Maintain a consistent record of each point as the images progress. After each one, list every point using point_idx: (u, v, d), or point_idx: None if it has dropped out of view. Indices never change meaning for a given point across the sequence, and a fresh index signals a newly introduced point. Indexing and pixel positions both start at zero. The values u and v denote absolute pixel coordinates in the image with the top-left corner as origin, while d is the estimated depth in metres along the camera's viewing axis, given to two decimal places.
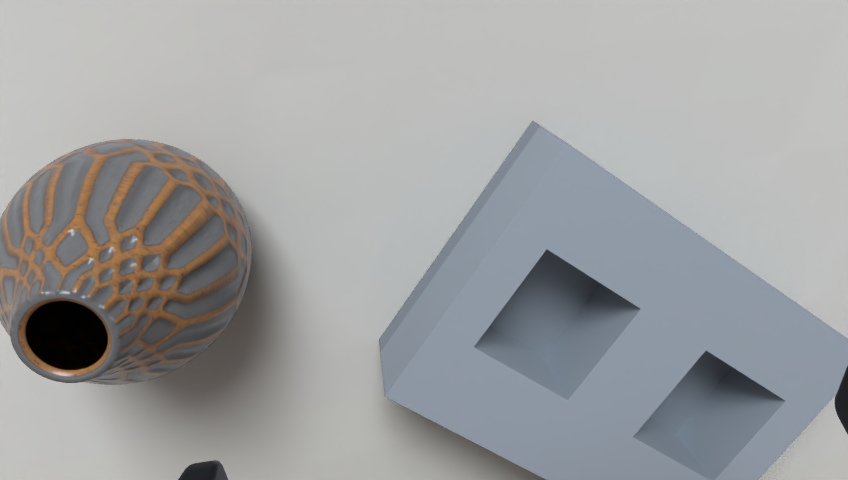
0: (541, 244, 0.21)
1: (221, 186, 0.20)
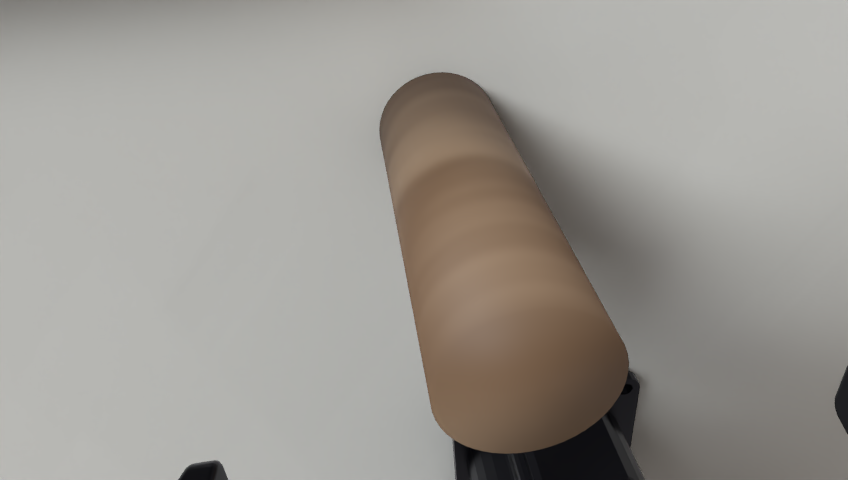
0: None
1: None
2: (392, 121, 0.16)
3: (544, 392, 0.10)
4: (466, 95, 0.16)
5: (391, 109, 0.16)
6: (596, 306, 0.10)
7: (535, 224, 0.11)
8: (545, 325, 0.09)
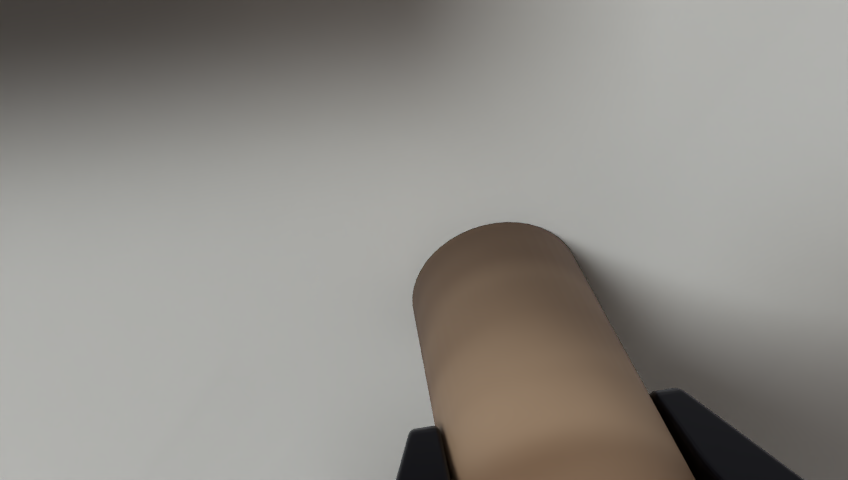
0: None
1: None
2: (435, 305, 0.11)
3: None
4: (550, 274, 0.10)
5: (432, 281, 0.11)
6: None
7: None
8: None
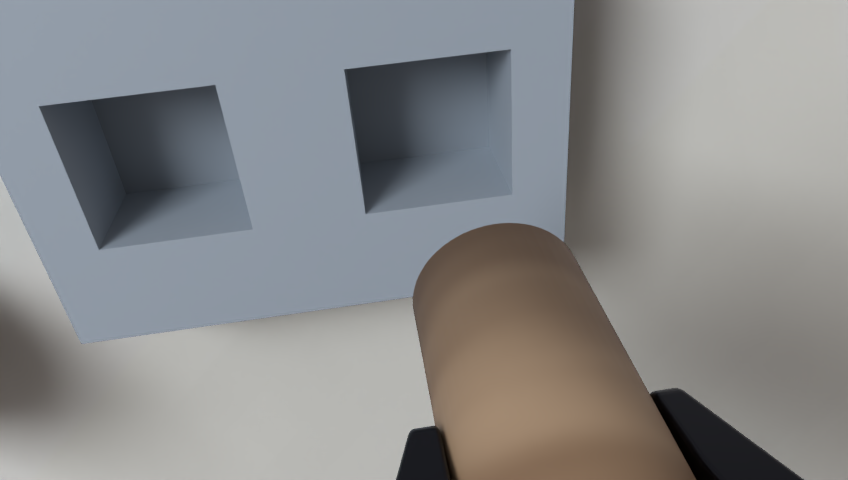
0: (27, 105, 0.15)
1: None
2: (436, 306, 0.11)
3: None
4: (551, 274, 0.10)
5: (433, 281, 0.11)
6: None
7: None
8: None
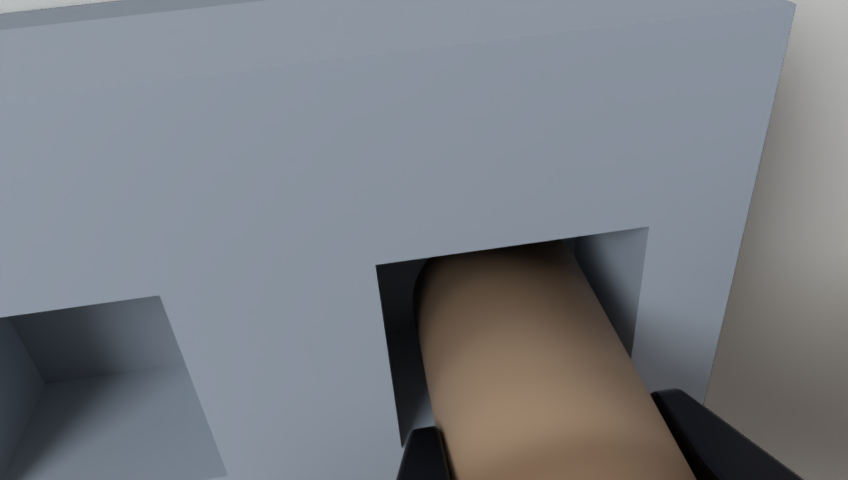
0: None
1: None
2: (435, 305, 0.11)
3: None
4: (550, 273, 0.10)
5: (432, 281, 0.11)
6: None
7: None
8: None
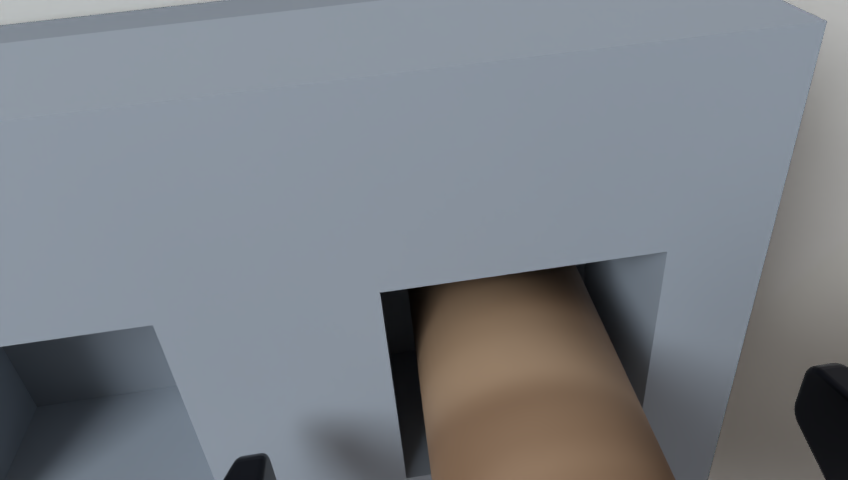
0: None
1: None
2: None
3: None
4: None
5: None
6: None
7: None
8: None
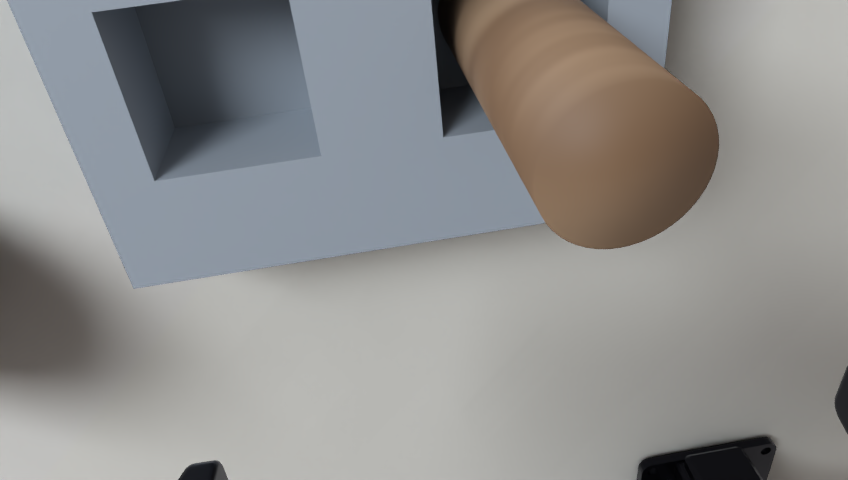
0: (78, 12, 0.14)
1: None
2: None
3: (639, 178, 0.11)
4: None
5: None
6: None
7: (619, 36, 0.12)
8: (645, 99, 0.10)
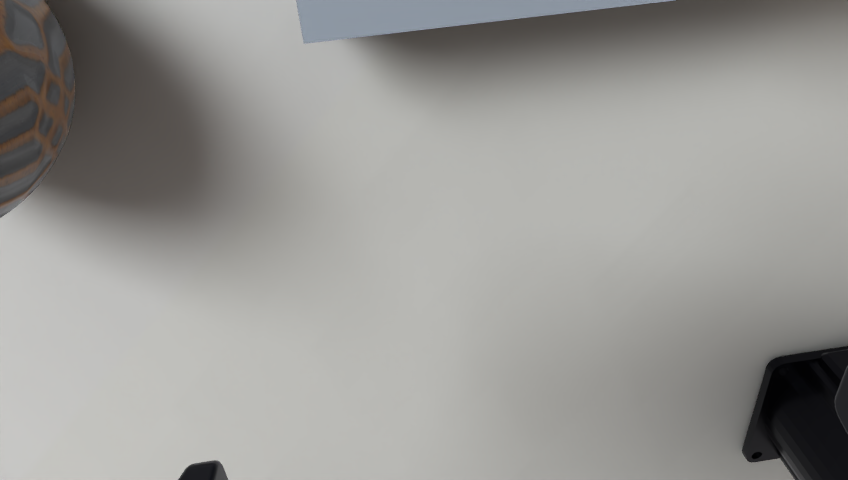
0: None
1: None
2: None
3: None
4: None
5: None
6: None
7: None
8: None
